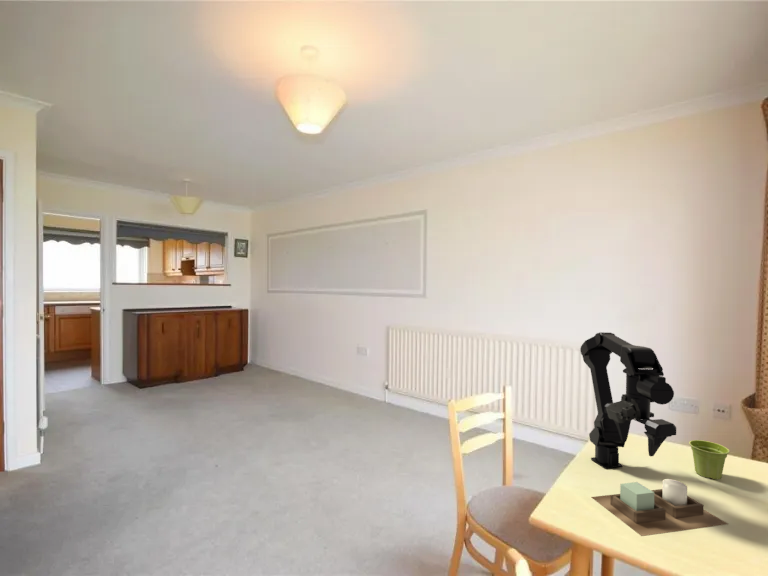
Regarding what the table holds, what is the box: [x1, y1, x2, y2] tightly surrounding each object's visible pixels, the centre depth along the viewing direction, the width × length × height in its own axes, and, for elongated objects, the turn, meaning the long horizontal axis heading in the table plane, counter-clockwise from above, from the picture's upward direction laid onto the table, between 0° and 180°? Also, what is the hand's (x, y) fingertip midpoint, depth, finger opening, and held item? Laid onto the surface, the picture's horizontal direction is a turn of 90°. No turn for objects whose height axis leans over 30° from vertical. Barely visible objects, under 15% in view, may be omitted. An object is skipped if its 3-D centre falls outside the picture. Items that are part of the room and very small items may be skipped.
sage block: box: [619, 481, 654, 511], centre depth 97 cm, size 5×5×6 cm
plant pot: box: [688, 439, 731, 480], centre depth 117 cm, size 9×9×9 cm
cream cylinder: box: [661, 478, 688, 506], centre depth 99 cm, size 5×5×6 cm
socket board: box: [591, 488, 729, 537], centre depth 98 cm, size 16×24×4 cm, turn 101°
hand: (637, 448), depth 108 cm, fingers open, 9 cm apart
